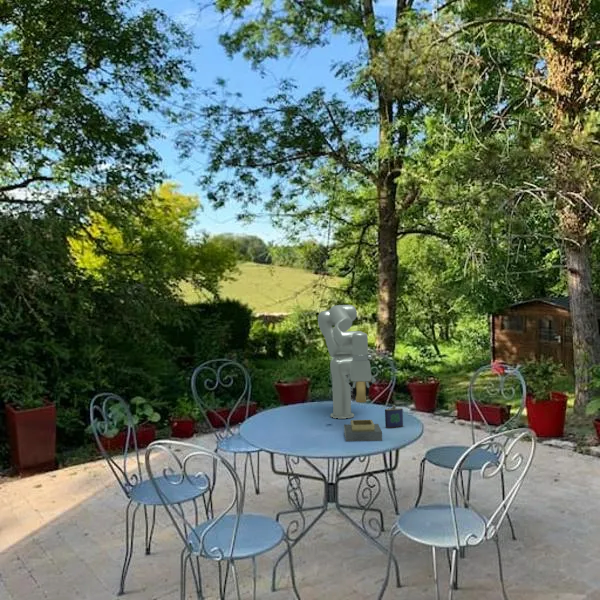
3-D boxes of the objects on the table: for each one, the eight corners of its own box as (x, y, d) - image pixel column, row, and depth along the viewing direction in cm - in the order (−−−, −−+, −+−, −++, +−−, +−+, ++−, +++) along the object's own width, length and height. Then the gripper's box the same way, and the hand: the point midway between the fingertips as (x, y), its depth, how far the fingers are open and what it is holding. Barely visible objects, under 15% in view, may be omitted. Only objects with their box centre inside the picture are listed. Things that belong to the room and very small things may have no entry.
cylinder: (355, 400, 259) (354, 377, 259) (365, 400, 259) (365, 377, 259) (356, 402, 254) (355, 379, 254) (366, 402, 254) (366, 379, 254)
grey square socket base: (344, 432, 250) (343, 419, 250) (378, 432, 250) (377, 418, 250) (346, 441, 236) (345, 426, 236) (382, 440, 236) (381, 426, 236)
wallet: (401, 425, 261) (401, 403, 261) (404, 426, 258) (403, 405, 258) (384, 427, 259) (383, 405, 258) (387, 428, 256) (386, 406, 256)
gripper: (376, 356, 260) (377, 393, 260) (342, 357, 260) (342, 394, 261) (378, 358, 252) (379, 396, 253) (342, 359, 253) (343, 397, 253)
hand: (360, 395), depth 257 cm, fingers closed on cylinder, 5 cm apart
